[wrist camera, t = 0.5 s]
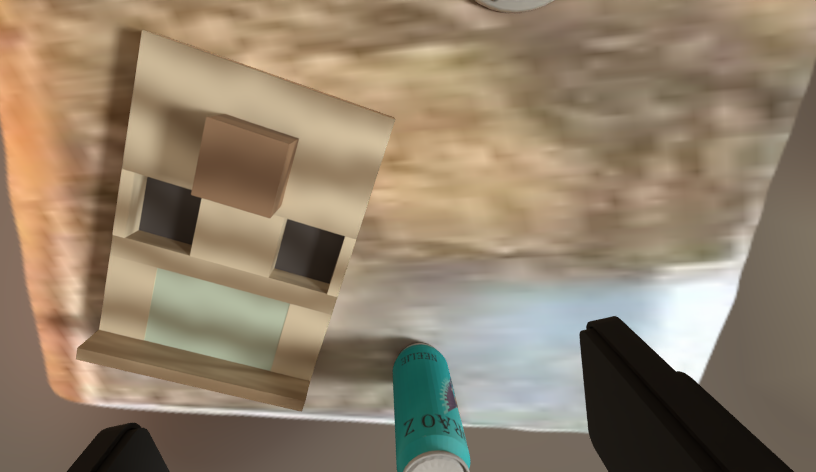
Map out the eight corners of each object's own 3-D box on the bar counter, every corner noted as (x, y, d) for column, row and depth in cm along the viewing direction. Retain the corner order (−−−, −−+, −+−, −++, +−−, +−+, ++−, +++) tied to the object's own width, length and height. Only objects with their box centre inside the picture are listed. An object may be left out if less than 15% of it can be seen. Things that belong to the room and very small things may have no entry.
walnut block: (225, 113, 34) (206, 116, 31) (299, 138, 35) (289, 144, 31) (210, 184, 36) (191, 194, 32) (281, 205, 37) (270, 218, 33)
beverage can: (450, 375, 47) (481, 499, 33) (399, 388, 47) (408, 517, 33) (438, 331, 45) (465, 442, 31) (385, 345, 45) (388, 462, 31)
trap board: (159, 34, 35) (119, 24, 29) (394, 117, 38) (396, 121, 32) (113, 326, 42) (75, 359, 37) (310, 375, 46) (301, 411, 40)
